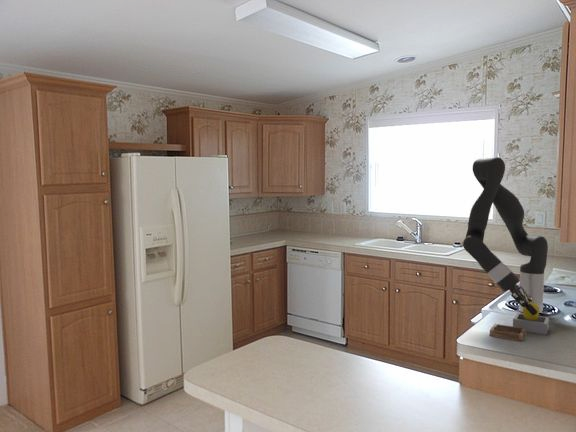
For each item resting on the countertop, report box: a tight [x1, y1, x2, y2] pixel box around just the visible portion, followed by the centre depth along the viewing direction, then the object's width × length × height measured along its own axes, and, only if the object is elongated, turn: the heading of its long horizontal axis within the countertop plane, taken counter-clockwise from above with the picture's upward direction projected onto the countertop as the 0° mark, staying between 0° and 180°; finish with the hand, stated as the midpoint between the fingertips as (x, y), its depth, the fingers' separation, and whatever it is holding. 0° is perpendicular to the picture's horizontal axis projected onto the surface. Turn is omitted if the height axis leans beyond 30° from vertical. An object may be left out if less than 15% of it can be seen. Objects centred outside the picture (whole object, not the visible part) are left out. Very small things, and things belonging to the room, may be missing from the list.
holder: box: [512, 312, 550, 336], centre depth 172 cm, size 11×11×4 cm
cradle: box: [489, 323, 527, 342], centre depth 164 cm, size 10×10×2 cm
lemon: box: [522, 302, 540, 321], centre depth 172 cm, size 6×6×8 cm
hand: (536, 312), depth 171 cm, fingers closed on lemon, 5 cm apart
